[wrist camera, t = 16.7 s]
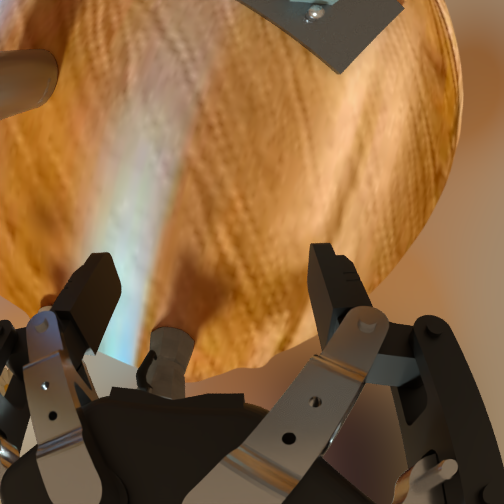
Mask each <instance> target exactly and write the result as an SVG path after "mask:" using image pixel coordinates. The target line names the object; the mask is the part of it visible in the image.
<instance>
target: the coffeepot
mask: <svg viewBox="0 0 504 504" xmlns="http://www.w3.org/2000/svg"><path fill="white" fill-rule="evenodd" d="M193 346H194V341H193V339H192V338H191V337H190V336H189V335H188V334H187V333H185V332H184V331H182V330H179V329H177V328H172V327H161V328H158V329H156V330H155V331H153V332H151V338H150V351H149V353H148V354H147V356H146V357H145V359H144V361H143V362H142V364H141V366H140V367H139V368H138V370H137V373H136V380H137V386H138V388H137V389H138V390H143V391H146V392H149V393H152V394H155V395H158V396H161V397H164V398H167V399H171V400H176V399H182V398H185V377H184V374H185V371H186V368H187V366H188V363H189V360H190V357H191V355H192V352H193Z"/></svg>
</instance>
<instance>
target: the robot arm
mask: <svg viewBox="0 0 504 504" xmlns="http://www.w3.org/2000/svg"><path fill="white" fill-rule="evenodd" d="M57 75H58V70H57V64H56V61H55V58H54V57H53V55H52V54H51V53H50V52H49V51H46V50H43V49H28V50H11V51H0V120H2V119H5V118H8V117H11V116H13V115H16V114H19V113H22V112H25V111H28V110H31V109H34V108H38V107H40V106H41V105H43V104H44V103H45V102H46V101H47V100H48V99H49V98H50V96H51V95H52V93H53V91H54V88H55V86H56V82H57ZM307 284H308V292H309V296H310V301H311V305H312V309H313V313H314V318H315V322H316V327H317V331H318V335H319V340H320V344H321V349H322V353H321V354H320V355H319V356H318V355H313V357H311V358H310V360H309V361H308V362H307V364H306V365H305V366H304V368H303V369H302V371H301V372H300V373H299V375H298V376H297V377H296V378H295V380H294V381H293V382H292V384H291V385H290V386H289V388H288V389H287V390H286V392H285V393H284V394H283V395H282V397H281V398H280V399H279V400H278V402H277V403H276V404H275V405H274V407H273V408H272V409H271V410H270V411H268V410H266V409H264V408H262V407H259V406H256V405H253V404H248V403H245V400H244V394H243V393H240V394H239V393H238V394H204V395H198V396H193V397H188V398H182V399H176V400H171V399H167V398H164V397H161V396H158V395H155V394H152V393H149V392H146V391H143V390H138V389H128V388H120V387H112V389H111V392H110V396H106V397H102V398H98V396H97V393H96V391H95V388H94V386H93V383H92V381H91V378H90V376H89V373H88V370H87V367H86V364H85V362H84V361H83V356H84V354H85V355H96V352H97V350H98V348H99V345H100V343H101V340H102V338H103V335H104V333H105V331H106V328H107V326H108V323H109V321H110V319H111V317H112V314H113V312H114V310H115V307H116V305H117V303H118V301H119V298H120V296H121V282H120V279H119V277H118V274H117V271H116V268H115V265H114V262H113V259H112V256H111V255H110V253H108V252H104V253H92V254H91V255H90V256H89V257H88V259H87V260H86V262H85V263H84V265H82V266H81V267H80V268H79V269H77V270H76V271H75V272H74V273H73V274H72V276H71V277H70V279H69V280H68V282H67V283H66V285H65V286H64V289H63V290H62V291H61V293H60V294H59V296H58V297H57V299H56V301H55V302H54V304H53V305H52V307H51V309H50V310H49V311H42V312H40V313H38V314H36V315H35V316H33V317H32V318H31V319H30V321H29V322H28V324H27V327H24V328H19V329H15V328H14V327H13V325H12V324H11V322H10V321H9V320H1V321H0V376H1V374H2V372H3V369H4V367H5V365H6V366H7V367H8V368H9V370H10V371H11V372H12V373H13V376H12V378H11V380H10V383H9V385H8V388H7V390H6V393H5V395H4V396H3V395H2V394H1V393H0V500H1V503H2V504H376V503H375V502H374V501H372V500H371V499H370V498H369V497H367V496H366V495H365V494H364V493H362V492H361V491H360V490H359V489H358V488H356V487H355V486H354V485H353V484H352V483H350V482H349V481H348V480H347V479H346V478H345V477H343V476H342V475H341V474H340V473H339V472H338V471H337V470H335V469H334V468H333V467H332V466H331V465H330V464H329V463H328V462H326V461H325V460H324V459H323V458H322V457H323V456H324V454H325V453H326V451H327V450H328V448H329V447H330V445H331V444H332V442H333V440H334V439H335V437H336V435H337V434H338V432H339V430H340V428H341V427H342V425H343V423H344V421H345V420H346V418H347V416H348V414H349V413H350V411H351V409H352V408H353V406H354V404H355V402H356V400H357V399H358V397H359V395H360V393H361V391H362V389H363V387H364V385H365V384H366V383H372V384H380V385H388V386H390V387H391V391H392V395H393V399H394V403H395V407H396V412H397V416H398V420H399V425H400V429H401V434H402V439H403V444H404V449H405V454H406V459H407V464H408V470H406V471H405V472H404V473H402V474H401V475H400V477H399V478H398V480H397V482H396V484H395V493H394V499H393V502H392V504H504V467H503V463H502V459H501V455H500V452H499V448H498V445H497V441H496V438H495V435H494V432H493V429H492V425H491V422H490V420H489V417H488V414H487V412H486V408H485V406H484V403H483V400H482V398H481V395H480V393H479V390H478V387H477V385H476V382H475V380H474V378H473V375H472V373H471V371H470V368H469V366H468V364H467V361H466V360H465V357H464V355H463V353H462V350H461V348H460V346H459V344H458V342H457V340H456V338H455V336H454V334H453V332H452V330H451V328H450V326H449V325H448V324H447V323H446V322H445V321H444V320H443V319H441V318H439V317H436V316H433V315H424V316H422V317H419V318H418V319H417V320H416V321H415V323H414V325H413V326H410V325H403V324H396V323H392V322H389V321H388V318H387V317H386V315H385V314H384V313H383V312H382V311H380V310H378V309H376V308H374V307H373V306H372V304H371V301H370V299H369V297H368V295H367V292H366V290H365V288H364V286H363V284H362V281H360V277H359V275H358V274H357V271H356V269H355V266H354V264H353V262H351V261H350V260H349V259H348V258H347V257H346V256H344V255H335V252H334V250H333V248H332V245H331V244H330V243H311V244H310V250H309V263H308V276H307ZM30 415H31V420H32V424H33V428H34V432H35V436H36V440H37V444H36V445H35V446H34V447H33V448H32V449H30V450H29V451H28V452H27V453H25V454H24V455H23V456H22V457H20V450H21V447H22V443H23V439H24V435H25V432H26V429H27V425H28V422H29V419H30Z"/></svg>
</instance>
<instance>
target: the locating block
mask: <svg viewBox="0 0 504 504" xmlns="http://www.w3.org/2000/svg"><path fill="white" fill-rule="evenodd" d="M290 1H293V2H309V3H320V4H329V5H333V4H334V3H335V2H337V1H338V0H290Z"/></svg>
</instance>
